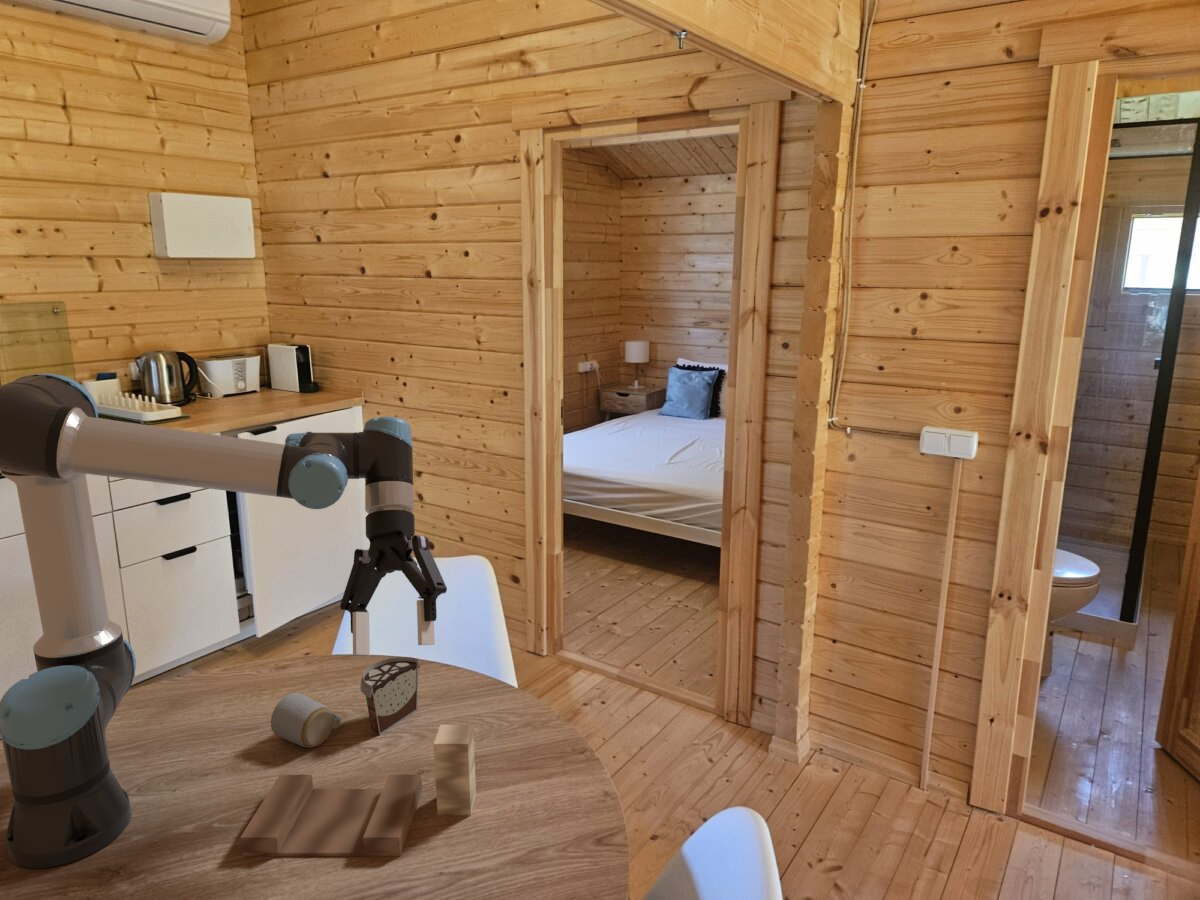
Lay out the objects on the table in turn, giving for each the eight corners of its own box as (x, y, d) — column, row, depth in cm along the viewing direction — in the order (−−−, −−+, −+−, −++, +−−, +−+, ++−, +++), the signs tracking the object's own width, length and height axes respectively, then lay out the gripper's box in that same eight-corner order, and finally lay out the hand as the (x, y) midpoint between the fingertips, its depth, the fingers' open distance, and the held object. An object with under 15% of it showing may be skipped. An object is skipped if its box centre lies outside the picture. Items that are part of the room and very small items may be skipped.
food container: (398, 697, 153) (395, 649, 151) (422, 706, 150) (420, 657, 148) (348, 729, 143) (344, 678, 140) (373, 739, 140) (369, 687, 137)
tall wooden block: (437, 815, 121) (433, 743, 118) (443, 793, 125) (440, 724, 123) (471, 815, 120) (467, 743, 118) (476, 793, 125) (473, 724, 123)
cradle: (242, 856, 112) (240, 837, 112) (281, 791, 126) (279, 774, 125) (400, 855, 112) (399, 837, 112) (422, 791, 126) (421, 774, 125)
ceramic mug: (305, 758, 134) (301, 716, 133) (271, 744, 138) (267, 703, 137) (352, 728, 144) (349, 688, 142) (319, 715, 147) (316, 677, 146)
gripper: (465, 501, 125) (472, 640, 119) (353, 529, 137) (354, 657, 131) (432, 494, 119) (437, 640, 113) (317, 524, 131) (316, 658, 125)
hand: (393, 650), depth 122 cm, fingers open, 13 cm apart
